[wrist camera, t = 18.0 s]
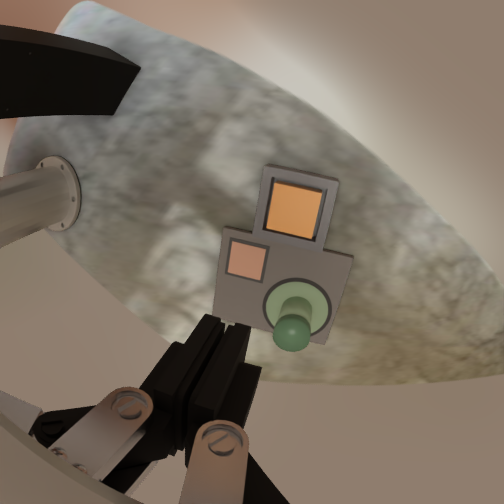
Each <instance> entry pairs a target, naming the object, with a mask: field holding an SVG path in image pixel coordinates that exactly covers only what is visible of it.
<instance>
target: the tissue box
mask: <svg viewBox="0 0 504 504" xmlns="http://www.w3.org/2000/svg"><path fill="white" fill-rule="evenodd" d="M140 68H141V67H139V66H138V65H136V64H134V63H133V62H131V61H129V60H128V59H126V58H124V57H123V56H121V55H119V54H118V53H116V52H114V51H113V50H111V49H109V48H107V47H104V46H100V45H97V44H93V43H90V42H86V41H82V40H78V39H74V38H70V37H66V36H61V35H57V34H52V33H48V32H43V31H37V30H32V29H26V28H20V27H14V26H6V25H0V119H5V118H17V117H31V116H52V115H113V114H114V112H115V110H116V109H117V107H118V105H119V103H120V101H121V100H122V98H123V96H124V95H125V93H126V91H127V89H128V88H129V86H130V84H131V83H132V81H133V79H134V78H135V76H136V75H137V73H138V71H139V70H140Z"/></svg>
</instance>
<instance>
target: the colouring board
mask: <svg viewBox="0 0 504 504" xmlns="http://www.w3.org/2000/svg"><path fill="white" fill-rule="evenodd" d="M353 259H354V257H353V256H351V255H347V254H343V253H339V252H335V251H331V250H327V249H323V251H322V253H320V252H316V251H312V250H307V249H303V248H299V247H295V246H291V245H286V244H282V243H278V242H274V241H269V240H265V239H261V238H257V237H252V232H250V231H246V230H241V229H237V228H233V227H228V226H225V227H224V228H223V234H222V241H221V249H220V256H219V264H218V272H217V279H216V287H215V296H214V304H213V312H212V316H216V317H219V318H221V319H223V320H227V321H230V322H234V323H236V322H237V323H241V324H244V325H248V326H251V327H252V328H256V329H260V330H264V331H268V332H272V333H273V331H274V328H275V324H276V322H277V321H278V317H279V314H280V310H281V307H282V304H283V302H284V301H285V300H286V299H288V298H290V297H294V296H299V297H303V298H305V299H306V300H308V301H309V302H310V304H311V306H312V319H311V335H310V341H309V342H313V343H317V344H322V345H325V343H326V340H327V337H328V335H329V332H330V329H331V326H332V323H333V321H334V318H335V315H336V312H337V309H338V306H339V303H340V300H341V297H342V294H343V291H344V288H345V285H346V282H347V279H348V275H349V272H350V269H351V266H352V262H353Z"/></svg>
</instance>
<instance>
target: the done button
mask: <svg viewBox="0 0 504 504" xmlns="http://www.w3.org/2000/svg"><path fill="white" fill-rule="evenodd" d="M321 196H322V190H320V189H315V188H311V187H307V186H302V185H298V184H293V183H289V182H284V181H279V180H278V181H276V182H275V184H274V189H273V194H272V200H271V205H270V211H269V216H268V221H267V227H266V228H267V229H272V230H276V231H280V232H285V233H289V234H293V235H297V236H302V237H306V238H310V239H312V235H313V231H314V227H315V223H316V218H317V214H318V210H319V205H320V201H321Z"/></svg>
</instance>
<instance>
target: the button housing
mask: <svg viewBox="0 0 504 504" xmlns="http://www.w3.org/2000/svg"><path fill="white" fill-rule="evenodd" d="M278 180H279V181H284V182H289V183H293V184H298V185H302V186H307V187H311V188H315V189H320V190H322V196H321V201H320V205H319V210H318V214H317V218H316V223H315V227H314V231H313V235H312V239H310V238H306V237H302V236H297V235H293V234H289V233H285V232H280V231H276V230H272V229H267V228H266V227H267V221H268V216H269V211H270V205H271V200H272V194H273V189H274V184H275V182H276V181H278ZM338 185H339V180H338V179H336V178H332V177H328V176H324V175H319V174H315V173H311V172H306V171H302V170H297V169H292V168H287V167H283V166H278V165H273V164H267V165H265V166H264V169H263V175H262V181H261V186H260V192H259V198H258V204H257V209H256V215H255V221H254V227H253V232H252V237H257V238H261V239H265V240H269V241H274V242H278V243H282V244H286V245H291V246H295V247H299V248H303V249H307V250H312V251H316V252H320V253H322V251H323V247H324V244H325V240H326V236H327V232H328V228H329V224H330V219H331V215H332V211H333V207H334V203H335V198H336V194H337V189H338Z"/></svg>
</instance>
